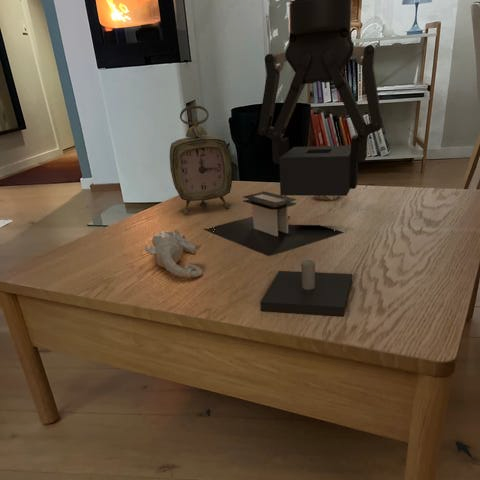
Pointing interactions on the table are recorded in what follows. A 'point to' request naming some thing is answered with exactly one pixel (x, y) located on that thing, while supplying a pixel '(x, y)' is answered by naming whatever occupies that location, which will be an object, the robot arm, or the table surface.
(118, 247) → the table surface
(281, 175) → the black square block
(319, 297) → the base pad
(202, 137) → the tabletop clock
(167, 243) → the seahorse
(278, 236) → the architectural model
